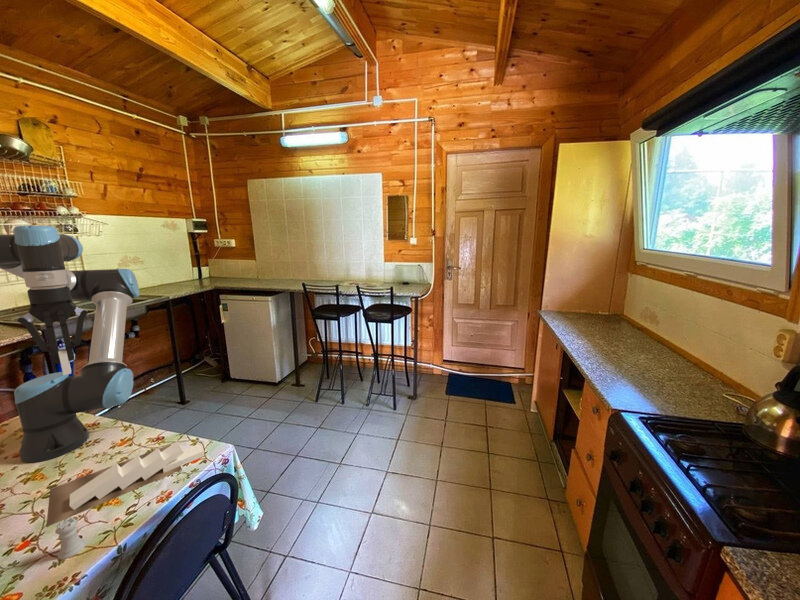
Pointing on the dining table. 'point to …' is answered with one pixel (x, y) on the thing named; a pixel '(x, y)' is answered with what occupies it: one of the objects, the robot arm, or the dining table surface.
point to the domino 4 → (166, 458)
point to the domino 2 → (124, 475)
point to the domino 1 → (95, 486)
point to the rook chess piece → (69, 539)
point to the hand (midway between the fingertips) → (67, 372)
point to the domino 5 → (185, 457)
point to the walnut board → (61, 496)
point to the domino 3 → (145, 467)
